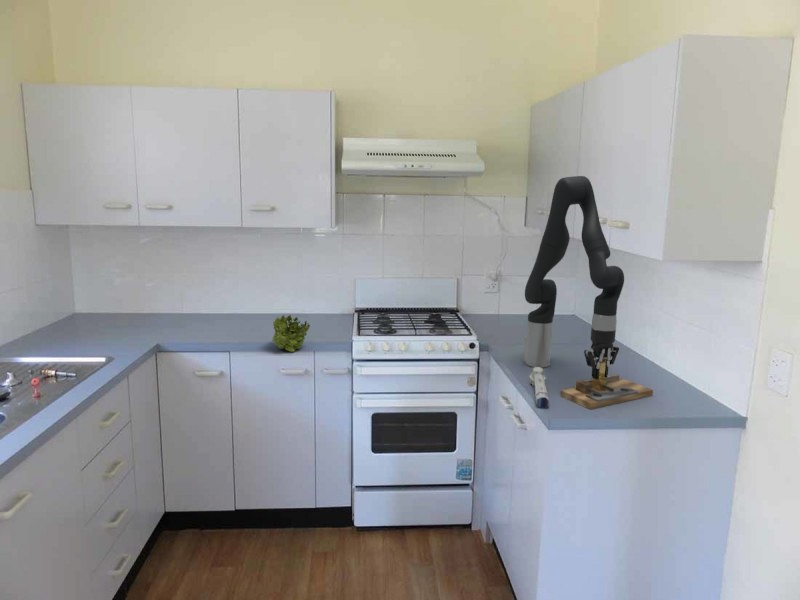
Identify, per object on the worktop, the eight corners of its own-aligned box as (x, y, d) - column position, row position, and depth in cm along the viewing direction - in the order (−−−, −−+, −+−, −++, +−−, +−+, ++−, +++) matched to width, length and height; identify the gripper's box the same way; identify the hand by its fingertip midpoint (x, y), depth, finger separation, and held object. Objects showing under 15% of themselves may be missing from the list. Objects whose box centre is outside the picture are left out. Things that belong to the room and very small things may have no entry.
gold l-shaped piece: (590, 386, 189) (592, 360, 187) (597, 385, 190) (599, 359, 189) (609, 394, 182) (611, 367, 180) (616, 392, 183) (618, 366, 182)
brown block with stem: (575, 389, 186) (576, 381, 185) (582, 388, 187) (583, 379, 187) (593, 397, 179) (594, 388, 178) (600, 396, 180) (601, 387, 180)
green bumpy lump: (261, 334, 240) (287, 307, 245) (288, 359, 242) (314, 332, 247) (263, 330, 223) (291, 301, 228) (292, 357, 225) (319, 328, 230)
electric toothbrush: (534, 396, 175) (530, 362, 198) (533, 415, 177) (528, 379, 200) (552, 397, 174) (545, 363, 197) (550, 416, 176) (544, 380, 200)
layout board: (560, 395, 186) (561, 384, 185) (621, 383, 199) (622, 372, 198) (590, 409, 175) (591, 397, 174) (652, 395, 187) (653, 384, 187)
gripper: (610, 322, 190) (606, 371, 194) (578, 326, 184) (575, 377, 187) (628, 327, 184) (623, 378, 187) (596, 332, 178) (592, 384, 181)
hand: (599, 377), depth 187 cm, fingers closed on gold l-shaped piece, 3 cm apart
